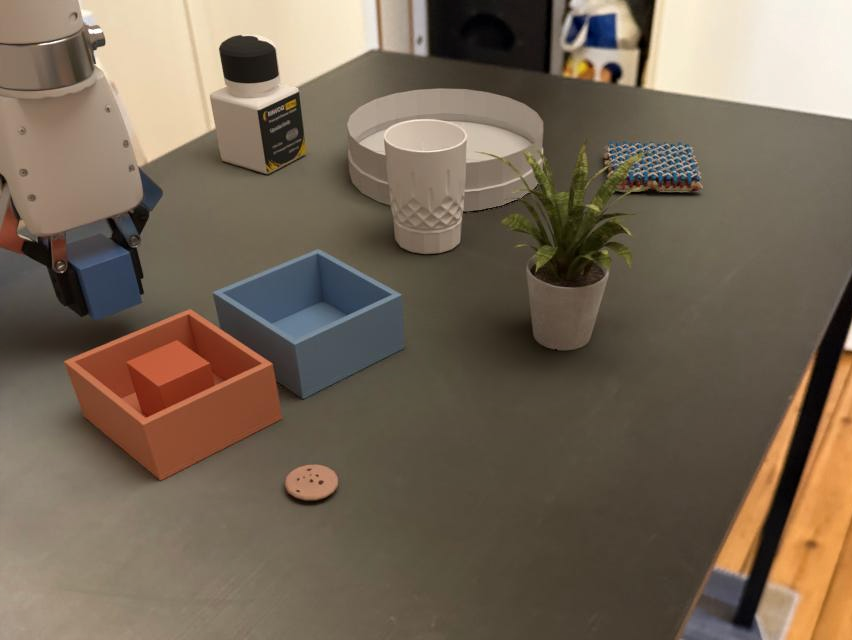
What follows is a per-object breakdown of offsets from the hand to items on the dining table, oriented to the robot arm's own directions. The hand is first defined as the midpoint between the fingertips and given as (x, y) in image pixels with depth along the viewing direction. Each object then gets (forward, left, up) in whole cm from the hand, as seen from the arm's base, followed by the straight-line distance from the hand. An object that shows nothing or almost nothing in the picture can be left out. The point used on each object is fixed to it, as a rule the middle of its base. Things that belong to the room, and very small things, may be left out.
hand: (104, 297), depth 78 cm
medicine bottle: (-22, +32, -4) cm, 40 cm away
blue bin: (+14, +11, -4) cm, 18 cm away
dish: (-5, +45, -4) cm, 46 cm away
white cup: (+6, +32, -4) cm, 33 cm away
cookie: (+29, -1, -4) cm, 29 cm away
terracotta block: (+15, -3, -3) cm, 15 cm away
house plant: (+27, +27, -4) cm, 38 cm away
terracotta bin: (+15, -3, -4) cm, 15 cm away
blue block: (0, 0, 0) cm, 0 cm away
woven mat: (+12, +61, -4) cm, 63 cm away
